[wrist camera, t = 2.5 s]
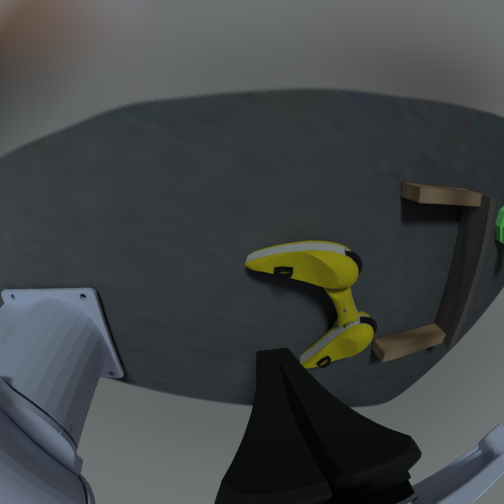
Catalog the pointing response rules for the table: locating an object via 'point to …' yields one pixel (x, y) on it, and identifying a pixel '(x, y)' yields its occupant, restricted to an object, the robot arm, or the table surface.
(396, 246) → the table surface
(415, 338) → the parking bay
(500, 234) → the game piece
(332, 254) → the yellow plastic handheld tool
